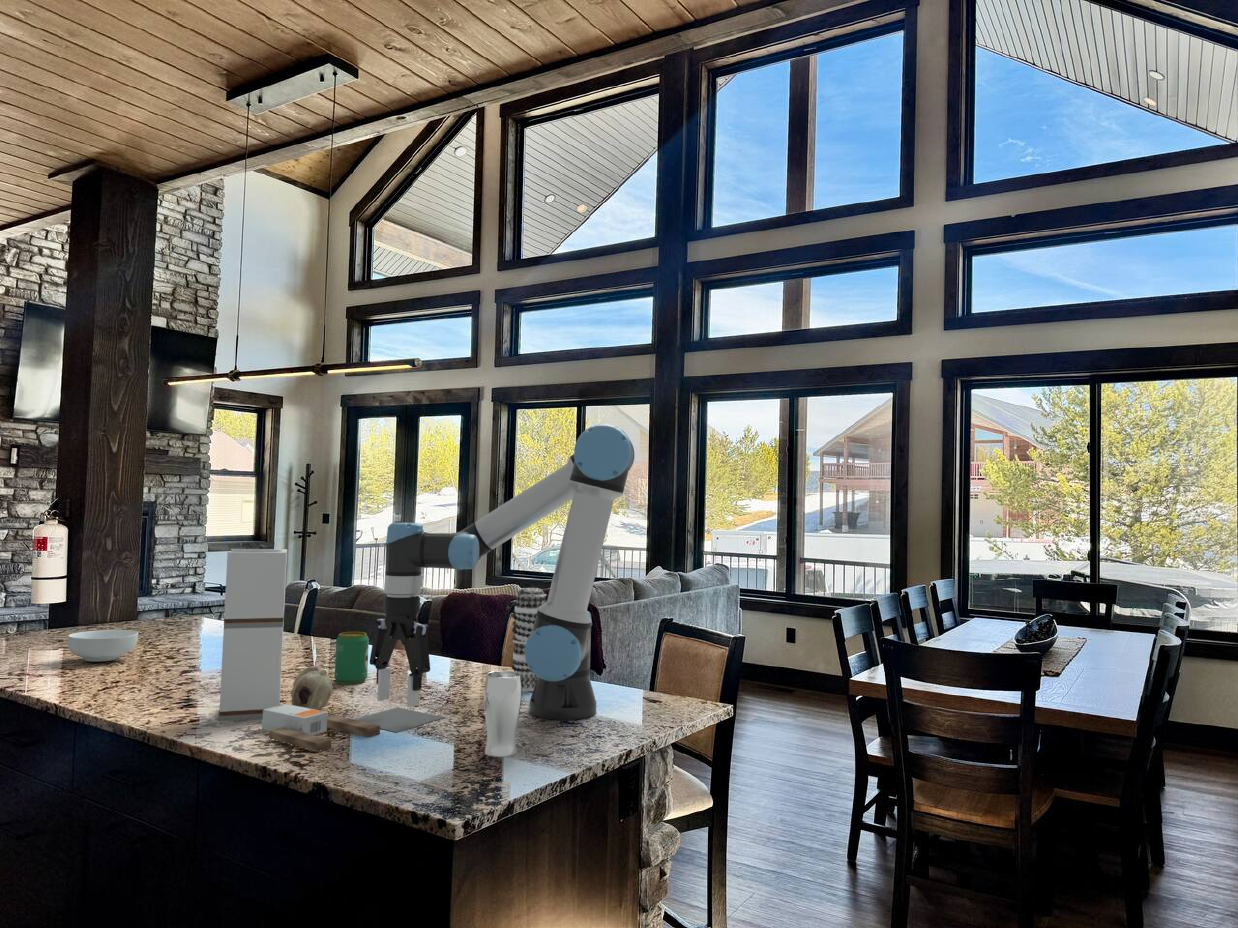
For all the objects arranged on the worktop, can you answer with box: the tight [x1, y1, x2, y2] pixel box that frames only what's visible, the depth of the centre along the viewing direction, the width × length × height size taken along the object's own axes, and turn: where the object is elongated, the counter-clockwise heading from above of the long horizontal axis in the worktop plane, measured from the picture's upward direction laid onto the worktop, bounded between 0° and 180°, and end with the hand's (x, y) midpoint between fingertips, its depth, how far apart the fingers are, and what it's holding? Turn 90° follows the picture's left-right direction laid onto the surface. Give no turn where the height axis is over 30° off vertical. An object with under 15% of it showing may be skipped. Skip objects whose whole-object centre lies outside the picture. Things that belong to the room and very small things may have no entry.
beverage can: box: [334, 631, 370, 685], centre depth 211 cm, size 8×8×12 cm
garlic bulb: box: [290, 665, 333, 711], centre depth 179 cm, size 10×8×10 cm
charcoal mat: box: [353, 706, 446, 734], centre depth 174 cm, size 14×14×1 cm
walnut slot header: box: [268, 714, 381, 752], centre depth 161 cm, size 14×15×2 cm
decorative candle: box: [511, 587, 547, 692], centre depth 209 cm, size 9×9×25 cm
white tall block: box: [218, 548, 288, 722], centre depth 178 cm, size 11×11×35 cm
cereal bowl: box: [66, 629, 139, 662], centre depth 229 cm, size 17×17×7 cm
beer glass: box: [483, 670, 522, 758], centre depth 154 cm, size 7×7×15 cm
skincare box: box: [261, 703, 328, 736], centre depth 165 cm, size 6×4×12 cm
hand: (397, 702), depth 174 cm, fingers open, 8 cm apart
